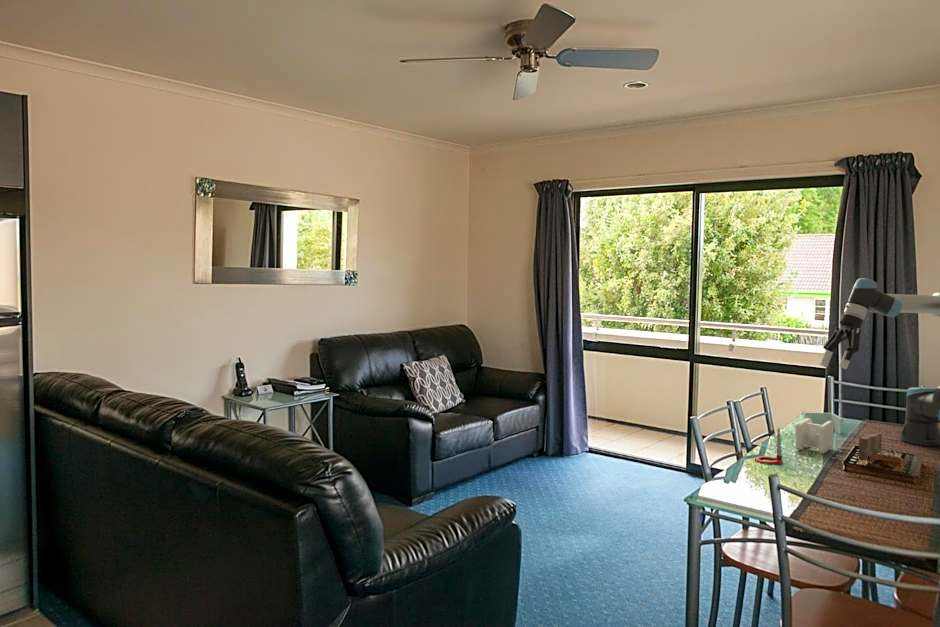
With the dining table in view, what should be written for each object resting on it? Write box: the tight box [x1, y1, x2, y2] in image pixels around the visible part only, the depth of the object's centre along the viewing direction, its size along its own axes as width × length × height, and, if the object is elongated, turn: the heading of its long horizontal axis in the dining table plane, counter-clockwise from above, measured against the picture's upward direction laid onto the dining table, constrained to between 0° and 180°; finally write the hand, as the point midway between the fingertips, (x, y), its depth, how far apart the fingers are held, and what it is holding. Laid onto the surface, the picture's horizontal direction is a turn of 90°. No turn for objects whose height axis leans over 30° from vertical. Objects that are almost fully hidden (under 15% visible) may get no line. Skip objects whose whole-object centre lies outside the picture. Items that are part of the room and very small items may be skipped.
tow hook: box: [754, 427, 784, 465], centre depth 256 cm, size 8×13×9 cm
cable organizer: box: [794, 418, 834, 455], centre depth 272 cm, size 15×11×12 cm
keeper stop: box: [858, 432, 883, 460], centre depth 260 cm, size 14×13×10 cm
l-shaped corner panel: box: [804, 411, 844, 435], centre depth 305 cm, size 12×12×8 cm
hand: (832, 367), depth 266 cm, fingers open, 13 cm apart
